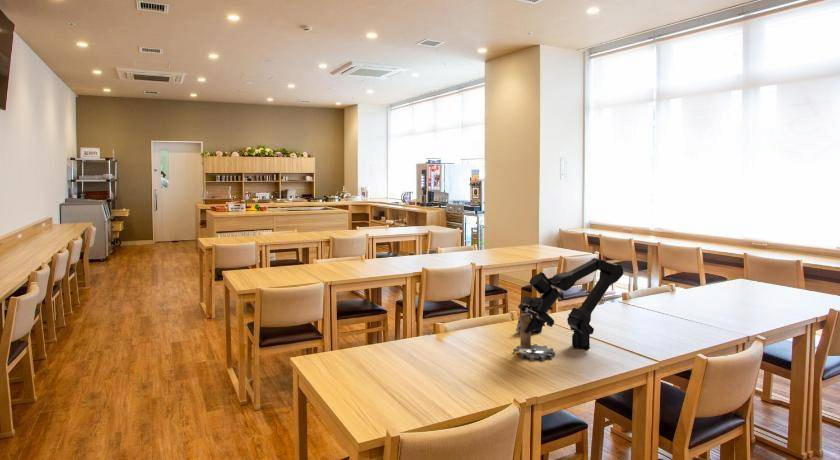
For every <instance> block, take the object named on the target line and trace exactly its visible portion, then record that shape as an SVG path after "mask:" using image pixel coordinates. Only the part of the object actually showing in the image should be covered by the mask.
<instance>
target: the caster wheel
mask: <svg viewBox="0 0 840 460" xmlns="http://www.w3.org/2000/svg"><path fill="white" fill-rule="evenodd" d="M519 327H520V316H518V321H517V325H516V329H515V332H517V333H520V330H519ZM543 327H544V326H542V327H540V328H537V329H535V330H533V331H532V332H540V333H541V332H542V331H543Z"/></svg>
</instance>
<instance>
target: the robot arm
mask: <svg viewBox="0 0 840 460" xmlns="http://www.w3.org/2000/svg"><path fill="white" fill-rule="evenodd" d="M596 271H599V278H598V280H597V281H596V284H595V285H594V286H593V287H592V289H591V291H590V292H589V294H588V295H587V296H586V298H585V299H584V301H583V303H581V306H579V307H572V309H571V311H570V312H569V313H568V314H567V316H568V317H567V319H566V321H567V325H568V326H569V328H570V330H571V331H573V333H572V335H571V337H572V338H571V344H572V347H573V348H574V349H583V350H584V349H585V350H591V347H590V346H591V343H590V339H591V338H590V337H591V335H593V333H594V331H595V329H594V327H593V326H592V325H591V324H590V323H591V320H592V319H591V318H592V313H593V311H594V310H595V308H596V307H597V306H598V304H599V302H600V301H601V299H602V298H603V297H604V296H605V294H606V293H607V290H608V289H609V288H610V287H611V286H612V285H613V284H615V283H616V282H618V281H619V280H620V279H621V278H622V277H623V275H624V273H625V272H624V267H623V266H622V265H620V264H617V263H613V262H607V261H605V260H603V259H601V258H596V257H592V258H591V260H589V261H586V262H585V263H583V264H581V265H579V266H577V267H575V268H574V269H571V270H569V271H565V272H559V273H557V274H554V275H553V276H552V277H547V276H546V274H545V273H544V272H541V271H540V272H539V273H537V274H535V275H533V276H532V277H530V280H529V285H530V286H532V288H533V289H534V290H535V291H536V292H537V293H538V294H540V297H538V296H537V297H536V296H533V297H530V296H527V295H523V297H522V299H521V303H519V305H518V306H517V308H518V309H519V310H520V311H521V312H522V313H521V314H530V315H531V322H530V324H529V325H528V327H527V328H526V330H525V333H529V332H531V333H532V332H534V331H533V330H535V329H537V328H540V327H542V326H543V327H545V326H548V327H550V328H552V327H553V326H554V325H555V320H554V318H552V317H551V316H550V314H549V313H548V312H549V311H553V309H554V308H553V306H554V304H555V303H556V301H557V300H558V299H560V300H564V299H565V298H564V292H562V291H565V292H566V291H569V290H570V289H572V287H573V286H575V285H576V282H578V281H579V280H581V279H583V278H585V277H587V276H589V275H590V274H593V273H594V272H596ZM559 290H560V291H559ZM543 327H542V328H543ZM519 330H520V327H519Z"/></svg>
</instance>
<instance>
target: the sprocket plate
mask: <svg viewBox="0 0 840 460" xmlns="http://www.w3.org/2000/svg"><path fill="white" fill-rule="evenodd" d="M513 354H514V356H515V357H520V360H530V361H531V362H534V361H537V360H538V361H541V362H544V361H545V360H547V359H548V360H552V359H553V357H556V351H554V348H552V347H551V348H550V347H548V346H547V345H538V343H537V344H536V343H533V344H531V348H528V349H524V348H521V345H517V346H516V348H513Z"/></svg>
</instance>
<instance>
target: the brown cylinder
mask: <svg viewBox="0 0 840 460" xmlns="http://www.w3.org/2000/svg"><path fill="white" fill-rule="evenodd" d="M519 317H520V332H519V333H520V336H519V337H520V338H519V339H520V340H519V341H520V346H521V348H524V349H528V348H531V345H532V343H531V342H532V341H531V339H532V337H531V336H532V331H531V332H529V333H525V330H526V328H527V327H528V325H529V324H530V322H531V315H530V314H523V313H521V314H520V316H519Z"/></svg>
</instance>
